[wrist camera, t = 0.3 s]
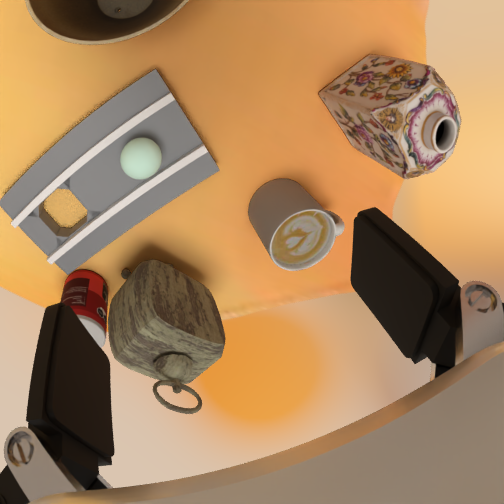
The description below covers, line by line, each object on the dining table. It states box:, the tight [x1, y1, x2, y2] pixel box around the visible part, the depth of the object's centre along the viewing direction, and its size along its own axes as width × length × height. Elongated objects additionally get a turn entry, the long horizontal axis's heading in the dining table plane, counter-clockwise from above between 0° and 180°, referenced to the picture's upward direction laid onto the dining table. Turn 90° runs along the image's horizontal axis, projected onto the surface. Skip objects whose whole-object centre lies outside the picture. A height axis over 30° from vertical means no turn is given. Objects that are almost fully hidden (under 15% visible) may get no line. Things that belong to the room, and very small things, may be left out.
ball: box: [120, 138, 162, 179], centre depth 34 cm, size 5×5×5 cm
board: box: [0, 69, 219, 275], centre depth 37 cm, size 28×16×4 cm, turn 116°
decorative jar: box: [319, 55, 461, 179], centre depth 36 cm, size 12×12×18 cm
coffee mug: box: [248, 179, 345, 271], centre depth 47 cm, size 13×10×10 cm
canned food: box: [60, 270, 108, 348], centre depth 44 cm, size 8×8×11 cm
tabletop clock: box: [108, 259, 225, 414], centre depth 41 cm, size 14×9×25 cm, turn 44°
